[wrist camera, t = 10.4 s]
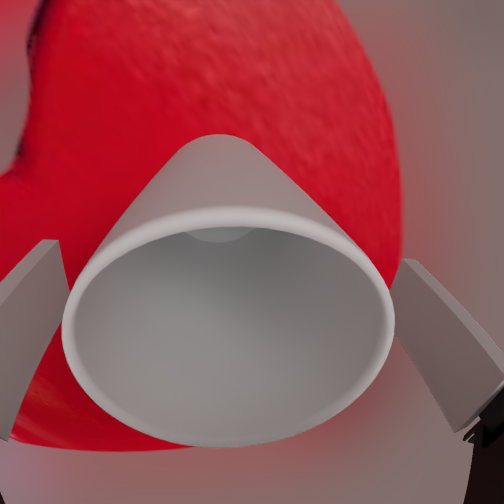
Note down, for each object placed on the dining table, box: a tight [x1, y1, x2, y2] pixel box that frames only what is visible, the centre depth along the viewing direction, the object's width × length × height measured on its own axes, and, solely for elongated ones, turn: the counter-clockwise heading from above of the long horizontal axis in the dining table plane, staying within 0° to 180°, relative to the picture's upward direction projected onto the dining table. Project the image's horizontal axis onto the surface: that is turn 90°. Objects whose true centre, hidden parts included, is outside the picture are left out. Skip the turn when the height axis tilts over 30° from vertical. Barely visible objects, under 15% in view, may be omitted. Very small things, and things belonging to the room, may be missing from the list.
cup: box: [62, 134, 395, 448], centre depth 13 cm, size 8×8×16 cm
